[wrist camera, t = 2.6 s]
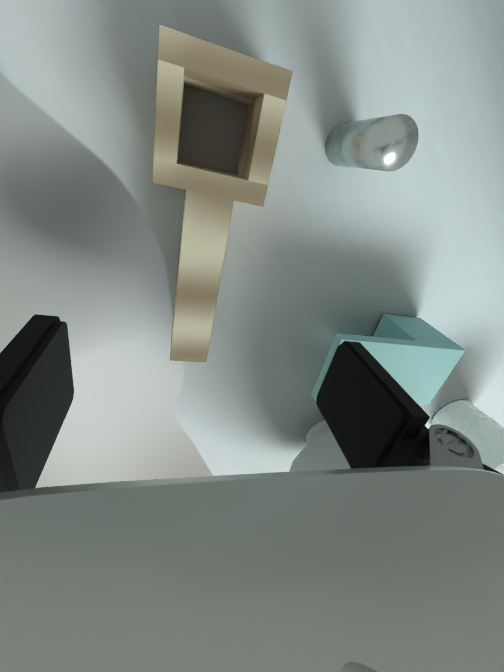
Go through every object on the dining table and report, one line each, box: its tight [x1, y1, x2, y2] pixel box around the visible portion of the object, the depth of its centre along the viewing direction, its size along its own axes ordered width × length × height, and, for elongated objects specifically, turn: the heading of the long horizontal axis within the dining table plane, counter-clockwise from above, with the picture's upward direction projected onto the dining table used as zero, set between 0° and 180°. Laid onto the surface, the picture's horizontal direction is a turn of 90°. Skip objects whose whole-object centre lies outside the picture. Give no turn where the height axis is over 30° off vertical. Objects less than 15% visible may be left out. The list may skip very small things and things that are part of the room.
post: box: [326, 114, 418, 171], centre depth 20 cm, size 3×3×7 cm
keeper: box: [311, 314, 465, 405], centre depth 31 cm, size 7×14×6 cm, turn 77°
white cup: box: [431, 400, 504, 474], centre depth 42 cm, size 8×8×10 cm
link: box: [152, 24, 292, 362], centre depth 22 cm, size 20×7×5 cm, turn 167°
